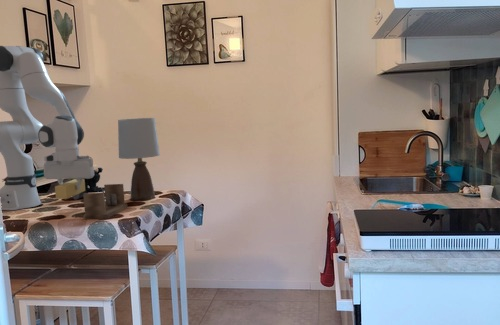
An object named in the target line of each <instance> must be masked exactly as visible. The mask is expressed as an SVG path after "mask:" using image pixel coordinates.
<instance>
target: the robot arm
mask: <svg viewBox="0 0 500 325" xmlns="http://www.w3.org/2000/svg"><path fill="white" fill-rule="evenodd" d="M44 63H45V58H44V55H43V53H42V51H41V50H40V49H38V48H35V47H32V46H31V47H29V46H28V47H27V46H23V45H22V46H21V45H5V46H4V45H0V109H1V110H2V111H3V112H5V113H7V114H8V115H10V116H11V119H12V120H7V121H6V120H4V121H0V154H1V155H2V157H3V159H4V162H5V169H6V174H7V175H6V177H5V178H2V179H1V180H2V183H3V182H4V185H2V187H0V197H1V203H2V210H1V211H16V210H22V209H27V208H32V207H33V208H34V207H37V206H39V205H42V201H41V199H40V197H39V193H38V189H37V176H36V173H35V168H34V159H33V158H32V156H31V155H30V154H29V153H25V152H23V151H22V149H21V147H20V145H22V146H23V145H30V144H31V145H33V144H34V143H38V142H39V143H40V144H41V145H42V146H43V147H45V148H50V149H51V148H55V152H53V153H51V154H48V155H46V156H44V157H43V160H44V164H43V177H44V178H45V179H46V180H57V183H58V185H60V184H63V183H64V182H63V181H64V180H71V179H77V181H78V183H77V185H75V190H79V189H80V184H81V182H82V179H90V178H93V177H94V175H95V174H94V170H95V169H94V160H93V158H92V157H91V156H89V155H80V147H79V145H80V144H81V143H82V142H83V140H84V139H85V131H84V129H83V127H82V125H81V124H80V123H79V121H78V120H77V119H76V116H75V114H74V113H73V112H74V111H73V110H72V108H71V106H70V105H69V102H68V100H67V99H66V98H67V97H66V96H65V94H64V93H63V91H62V90H61V89H60V88H58V87H57V86H56V85H55V84H54V82H53V81H52V79H51V78H50V75H49V72H48V70H47V67H46V65H45V64H44ZM26 95H28V96H29V97H31V98H32V99H35V100H38V101H42V102H44V103H47V104H49V105H51V106H52V107H54V109H55V110H56V112H57V114H58V115H57V116H55V117H54V118H53V120H52V121H51V122H50V123H49V122H48V123H47V124H45V125H44V124H43V123H42V122H41V121H39V120H38V119H37V118H35V117H34V116H33V114H32V113H31V111H30V109H29V107H28V103H27V99H26V98H27V97H26Z"/></svg>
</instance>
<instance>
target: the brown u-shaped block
mask: <svg viewBox="0 0 500 325" xmlns="http://www.w3.org/2000/svg"><path fill="white" fill-rule="evenodd" d="M104 188H105V191H104V193H103V192H93V193H84V194H83V197H82V198H83V208H84V214H83V215H82V219H83V220H100V219H101V220H103V219H104V220H108V219H110V218H112V217H113V216H114V215H117V214H118V213H120V212H121V211H123V210H125V209H126V208H128V203H126V201H125V190H124V183H118V184H117V183H114V184H113V183H112V184H110V183H108V184H107V183H106V184H104ZM104 196H105V197H104Z"/></svg>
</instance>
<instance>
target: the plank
mask: <svg viewBox="0 0 500 325" xmlns="http://www.w3.org/2000/svg"><path fill="white" fill-rule="evenodd" d="M77 183H78V181H77V179H74V180H71V179H70V180H69V181H66V182H63V184H58V185H55V186H54V191H55V199H56V200H67V199H70V198H73V197H72V196H74V195H77V194H79V193H81V192H84V191H85V180H84V179H82V182H81V184H80V189H79V190H75V185H77Z"/></svg>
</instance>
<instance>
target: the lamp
mask: <svg viewBox="0 0 500 325" xmlns="http://www.w3.org/2000/svg"><path fill="white" fill-rule="evenodd" d="M117 123H118V124H117V128H118V129H117V130H118V131H117V132H118V133H117V134H118V158H119V159H123V160H125V159H126V160H130V159H131V160H133V159H137V161H135V162H133V166H134V169H133V172H132V175H131V180H130V182H131V183H130V184H131V185H130V199H131V200H133V201H134V200H135V201H136V200H138V201H139V200H148V199H149V200H150V199H153V198H155V196H156V193H155V187H154V184H153V179H152V176H151V174H150V171H149V169H148V168H147V166H146V165H147V164H148V163H147V161H143V159H147V158H154V157H158V156H161V154H160V153H161V152H160V146H159V139H158V133H157V132H158V131H157V125H156V118H155V117H142V118H141V117H138V118H126V119H125V118H122V119H117Z"/></svg>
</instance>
